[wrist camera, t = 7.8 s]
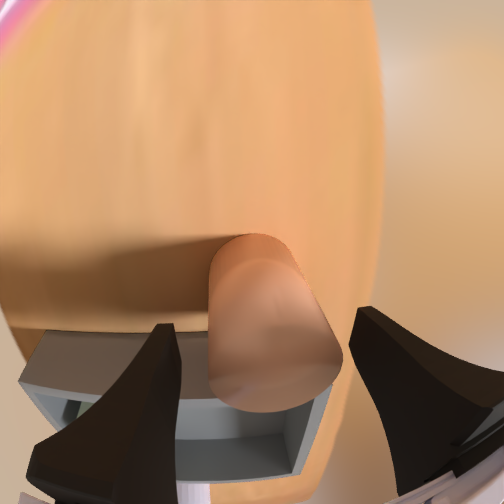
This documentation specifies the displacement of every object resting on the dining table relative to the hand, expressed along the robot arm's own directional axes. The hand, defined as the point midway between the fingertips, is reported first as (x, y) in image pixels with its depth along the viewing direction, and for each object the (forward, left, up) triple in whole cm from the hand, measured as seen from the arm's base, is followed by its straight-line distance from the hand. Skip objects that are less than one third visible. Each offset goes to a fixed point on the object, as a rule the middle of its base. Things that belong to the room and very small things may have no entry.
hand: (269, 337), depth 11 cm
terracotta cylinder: (0, 0, -5) cm, 5 cm away
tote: (-11, -5, -5) cm, 13 cm away
